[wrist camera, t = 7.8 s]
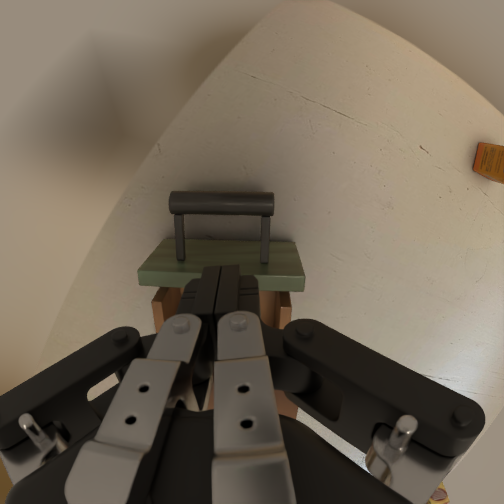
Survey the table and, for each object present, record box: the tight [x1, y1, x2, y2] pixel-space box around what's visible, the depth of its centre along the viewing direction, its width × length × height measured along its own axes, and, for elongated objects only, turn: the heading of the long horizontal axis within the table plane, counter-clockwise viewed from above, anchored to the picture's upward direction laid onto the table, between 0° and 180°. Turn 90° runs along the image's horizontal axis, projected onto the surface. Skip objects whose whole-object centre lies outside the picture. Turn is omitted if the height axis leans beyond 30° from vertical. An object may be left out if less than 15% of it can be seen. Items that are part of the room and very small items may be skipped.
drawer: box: [137, 191, 305, 377], centre depth 25 cm, size 18×11×7 cm, turn 179°
